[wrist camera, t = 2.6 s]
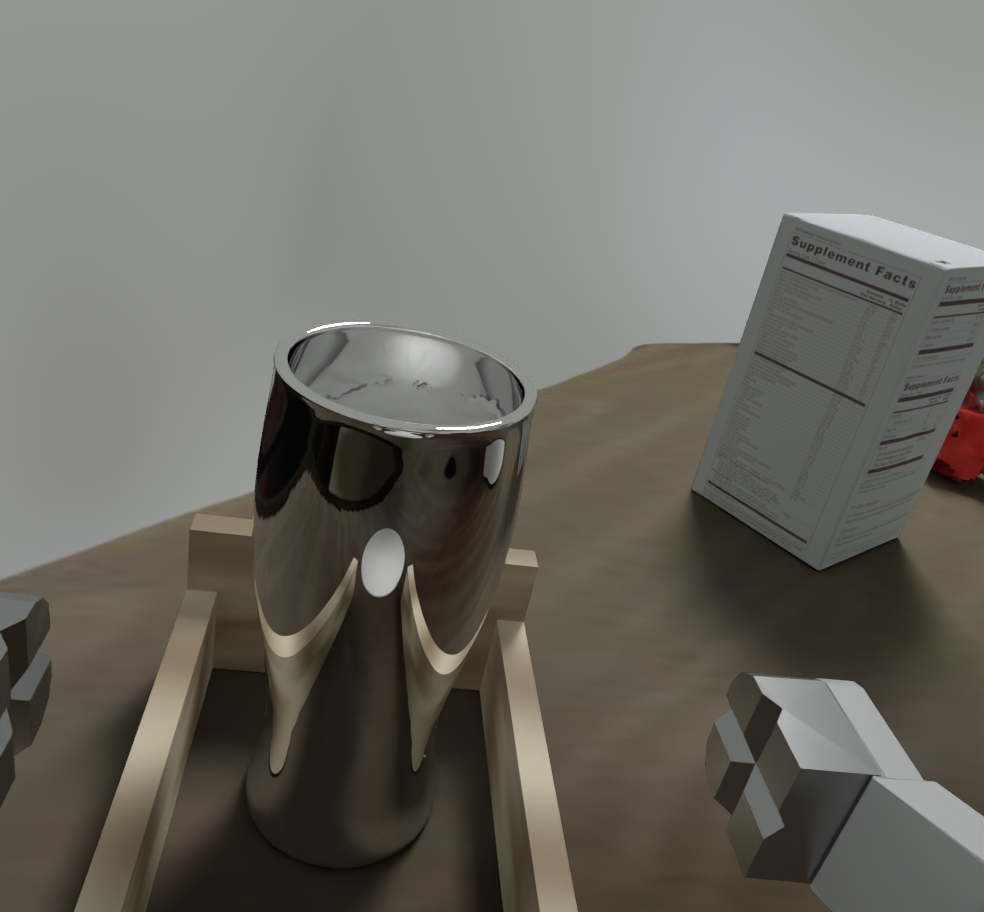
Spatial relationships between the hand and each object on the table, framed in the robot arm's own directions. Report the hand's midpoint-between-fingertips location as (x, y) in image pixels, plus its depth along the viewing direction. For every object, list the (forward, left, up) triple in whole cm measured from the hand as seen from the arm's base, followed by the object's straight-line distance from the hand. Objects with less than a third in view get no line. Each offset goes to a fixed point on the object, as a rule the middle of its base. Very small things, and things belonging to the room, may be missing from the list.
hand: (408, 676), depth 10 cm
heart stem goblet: (+6, -11, -16) cm, 20 cm away
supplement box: (-5, -43, -16) cm, 46 cm away
